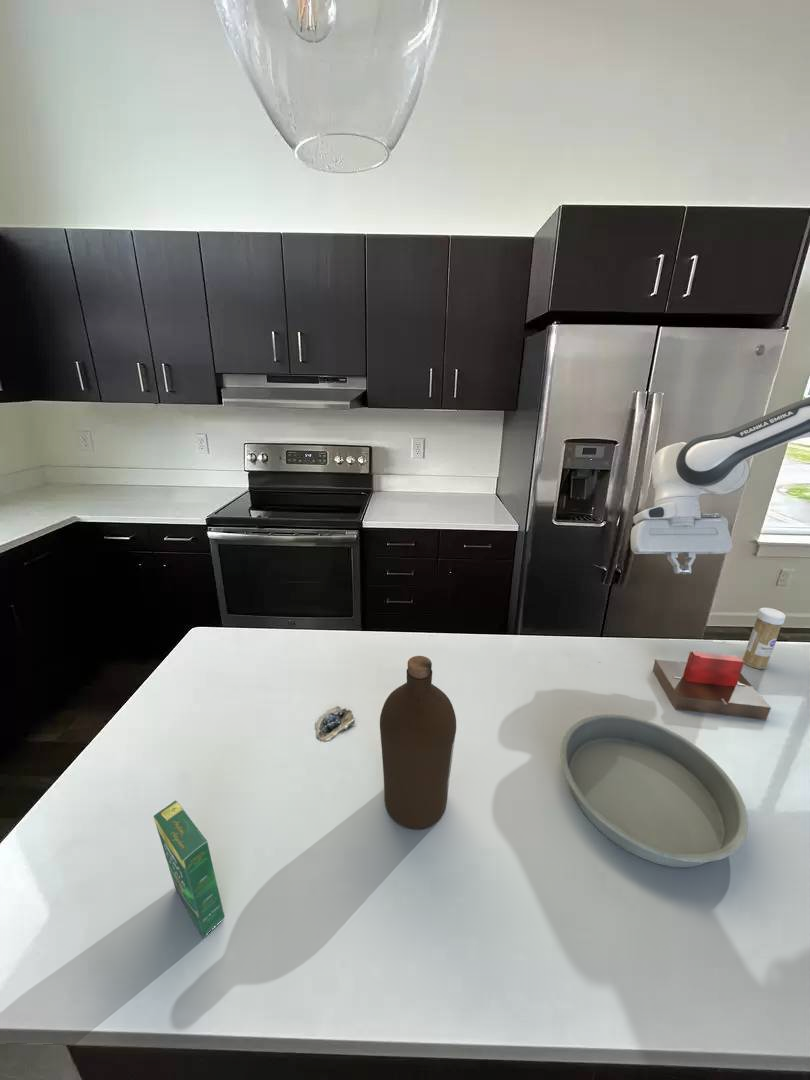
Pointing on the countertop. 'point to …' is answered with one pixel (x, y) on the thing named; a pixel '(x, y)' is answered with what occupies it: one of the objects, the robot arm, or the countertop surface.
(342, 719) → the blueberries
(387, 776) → the olive oil
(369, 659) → the countertop surface
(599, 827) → the cake pan
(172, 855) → the coffee box
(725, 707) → the base
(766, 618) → the sprinkles bottle
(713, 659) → the red block
